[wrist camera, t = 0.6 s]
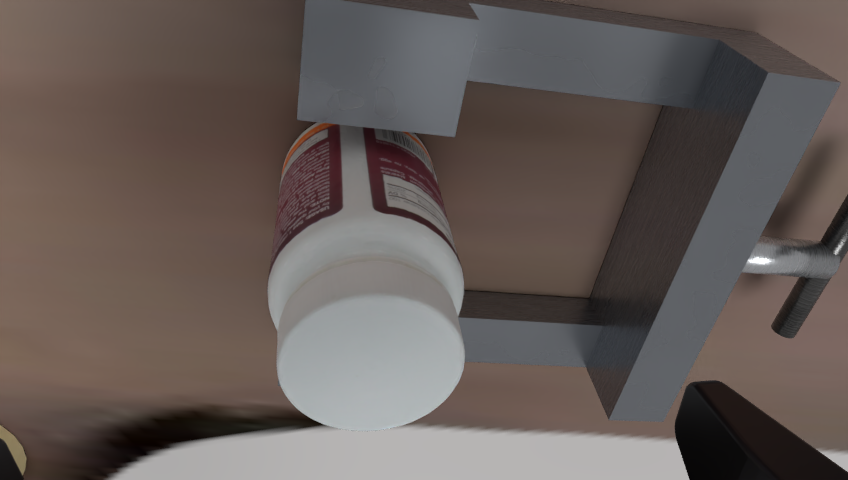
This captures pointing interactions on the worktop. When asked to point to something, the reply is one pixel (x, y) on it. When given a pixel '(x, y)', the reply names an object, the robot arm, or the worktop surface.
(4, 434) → the hook
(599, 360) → the vise
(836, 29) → the worktop surface
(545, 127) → the worktop surface
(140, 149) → the worktop surface
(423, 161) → the pill bottle
